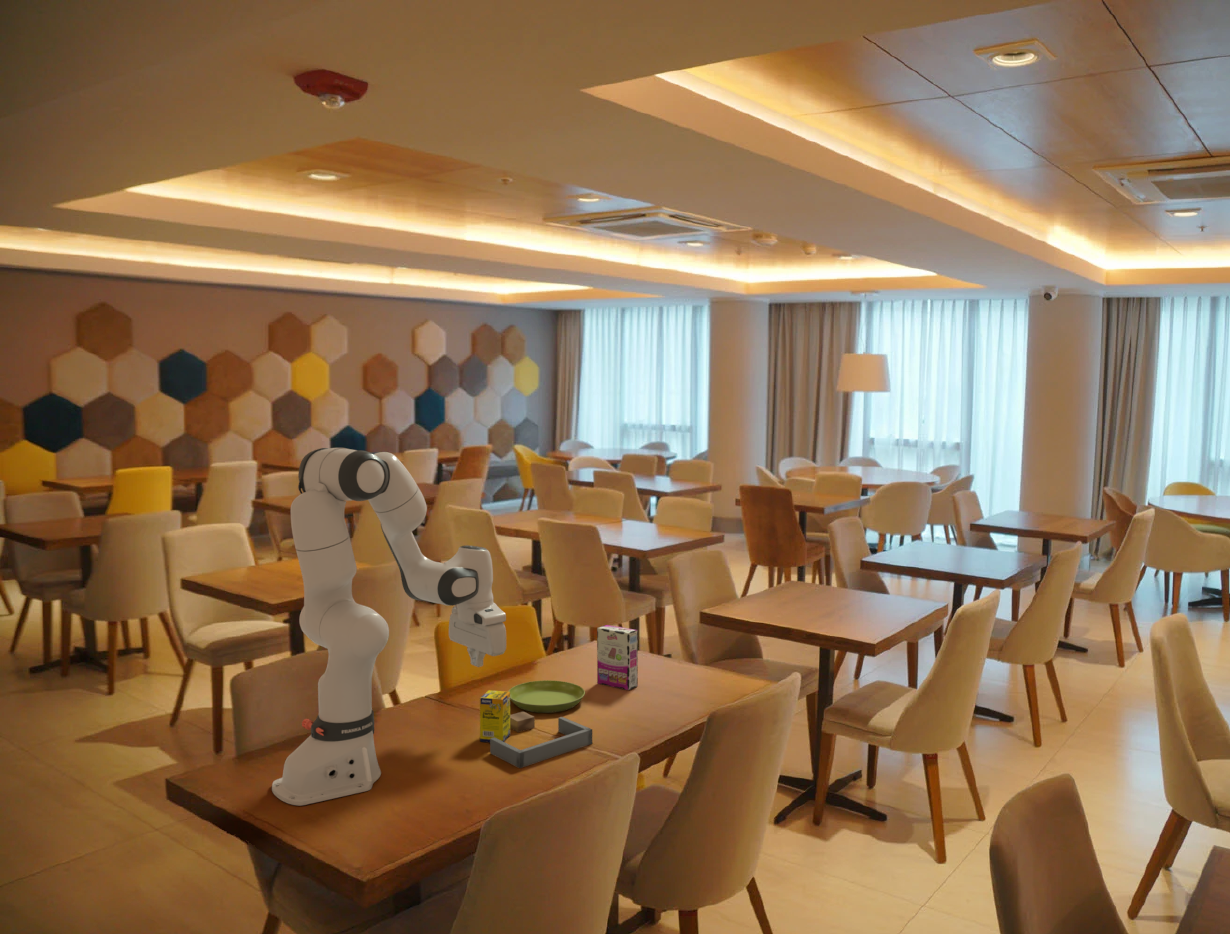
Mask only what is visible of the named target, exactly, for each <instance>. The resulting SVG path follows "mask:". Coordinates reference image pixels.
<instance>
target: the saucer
mask: <svg viewBox="0 0 1230 934" xmlns="http://www.w3.org/2000/svg"><path fill="white" fill-rule="evenodd" d="M507 692H510V702H512V703H513V704H514V705H515V706H516V707H517V708H519V709H521V710H524V711H527V712H531V713H538V714H539V713H540V714H548V713H551V714H552V713H559V712H560V713H561V712H564V711H565V712H566V711H568V710H570V709H573V708H575V706H577V705H578V704H579V702H581V700H582V699H583V698H584V696H585V694H586V691H585V689H584V688H583V687H582V686H580V685H578V684H577V683H576V684H575V683H573V682H568V681H562V680H543V679H542V680H535V681H527V682H523V683H520V684H516V685H514V686H512V687H511V688H509V690H507Z"/></svg>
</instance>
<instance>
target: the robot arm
mask: <svg viewBox="0 0 1230 934" xmlns="http://www.w3.org/2000/svg"><path fill="white" fill-rule="evenodd" d="M299 463H300V464H299V468H298V477H297V478H298V486H297V489H298V491H299V495H298V496H296V497H295V498H294V499H293V501H292V502H291V505H290V524H291V533H292V538H293V543H294V549H295V551H296V555H297V560H298V564H299V568H300V571H301V572H300V574H301V576H302V577H301V578H302V581H303V582H302V583H303V592H304V593H303V596H304V599H303V607H302V608H301V610H300V611H301V612H300V614H299V619H298V620H299V626H300V629H301V631H302V632H303V634H304V635H305V636H306V637H307V638H308V639H309V640H311V642H313V643H314V644H315V645H318V646H321V647H323V648H325V649H327V652H328V659H327V665H326V669H325V672H324V673H323V674H322V675H321V676H320V678H318V682H317V686H318V687H317V693H318V695H317V699H318V700H317V701H318V715H317V716H316V719H315V720H314V721H313V720H311V719H310V718H304V719H303V720H302V722H301V727H302V728H304V729H306V730H308V731H310V735H309V736H308V737H307V738H306V739H305V740H304V741H303V742H301V743H300V745H299V746H298V747H297V748H296V749H294V750H293V751H292V752H291V753H290V754H289V755H288V756H287V757H286V760H285V761H284V764H283V771H282V777H280V778H277V779H275V780H273V782H272V784H271V791H272V794H273V795H274V796H275V797H276V798H278V799H279V800H280V801H282V802H283V803H286V804H288V805H292V806H297V807H298V806H300V807H301V806H306V805H310V804H311V805H312V804H315V803H319V802H323V801H329V800H332V799H338V798H341V797H346V796H350V795H354V794H359V793H363V792H367V791H370V790H372V788H373V784H374V783H375V782H377V780H379V778H380V777H381V774H382V771H381V768H380V765H379V763H378V762H379V761H378V758H377V755H376V747H375V739H374V734H375V714H374V710H373V709H372V708H373V706H372V705H373V704H372V703H373V702H372V696H373V695H372V693H373V692H372V678H373V672H374V667H375V663H376V660H377V657H378V655H379V654H380V653H381V652H382V651H383V650H384V649H385V647H386V645H387V643H388V640H389V637H390V627H389V624H388V622H387V621H386V619H385V618H384V617H383V616H382V615H381V614H379V613H378V612H377V611H376V610H374V609H373V608H371V607H369V606H367V605H363V604H360V603H357V602H356V601H355V599H354V597H353V589H352V588H353V579H354V577H355V576H356V574H357V570H358V568H357V567H358V566H357V562H356V559H355V558H356V557H355V555H354V551H353V550H354V549H353V545H352V542H351V541H352V540H351V538H350V534H349V529H348V526H347V523H346V519H345V509H346V504H347V502H351V501H352V502H353V501H355V502H364V501H367V502H369V505H370V506H371V508H372V510H373V511H374V513H375V514H376V516H377V518H378V520H379V522H380V528H381V532H382V534H383V536H384V539H385V541H386V543H387V545H388V547H389V549H390V551H391V554H392V556H393V559H394V561H395V563H396V564H397V566H398V569H399V573H400V578H401V579H400V580H401V585H402V588H403V590H404V592H405V594H406V595H407V596H408V597H409V598H411V599H412V600H415V601H421V602H422V601H423V602H430V603H434V604H438V605H443V606H453V607H452V608H451V614H450V615H449V620H448V621H449V622H448V637H449V640H450V641H452V642H454V643H457V644H459V645H462V646H464V647H466V648H467V649H466V650H467V652H468V655H469V658H470V664H471V665H472V666H474V667H477V668H480V667H483V666H484V658H485V656H486V654H487V655H488V656H491V657H497V656H500V655H504V653H505V652H506V650H507V630H506V629H507V628H506V626H505V623H504V622H506V621H507V615H506V612H504V611H503V610H502V609H501V608H500V607H499V606H498V605H497V604H496V603H495V602H494V593H493V590H492V589H493V588H492V587H493V582H494V570H493V560H492V555H491V552H490V551H489V550H488V549H487V547H482V546H477V545H476V546H475V545H468V544H467V545H462V546H459V547H458V549H457V552H456V553H455V554H454V556H452V557H451V558H450V559H448V560H447V561H445V562H439V561H434V560H432V559H430V558H428V557H426V556H425V555H424V554H423V553H422V551H421V549H420V547H419V545H418V542H417V540H416V538H415V535H414V534H413V532H414V531H415V530H416V529H417V528H418V527H419V526H420V525H421V524H422V523H423V521H424V520H425V517H426V515H427V511H428V507H427V506H428V505H427V503H426V500H425V497H424V495H423V493H422V491H421V489H420V487H419V486H418V484H417V482H416V481H415V479H414V477H413V476H412V474H411V473H410V472H409V470H408V468H406V466H405V465H404V464H403V463H402V462H401V461H400V459H399V458H398V457H397V456H396V455H395V454H394V453H391V452H387V451H382V452H381V451H380V452H375V453H373V452H370V451H366V450H360V449H359V450H357V449H353V448H352V449H350V448H346V447H330V448H329V447H321V448H316V449H314V450H311V451H310V452H308V453H307V454H305V456H303V458H302V459H301V461H300V462H299Z"/></svg>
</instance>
